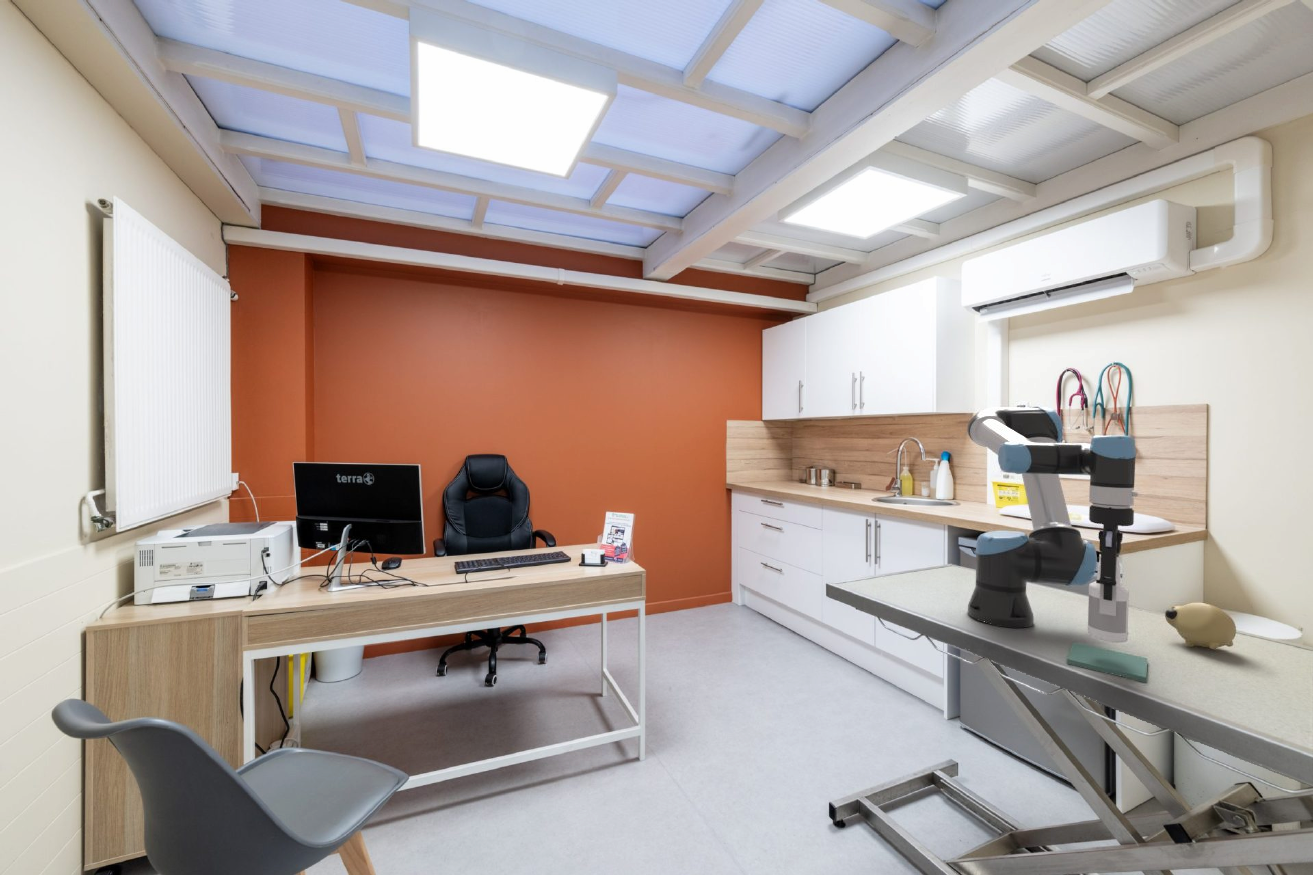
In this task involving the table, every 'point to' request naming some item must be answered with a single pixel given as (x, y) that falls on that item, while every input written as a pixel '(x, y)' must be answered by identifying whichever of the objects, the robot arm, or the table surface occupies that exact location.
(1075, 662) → the mat
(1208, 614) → the toy pig
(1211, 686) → the table surface
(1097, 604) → the spray bottle
